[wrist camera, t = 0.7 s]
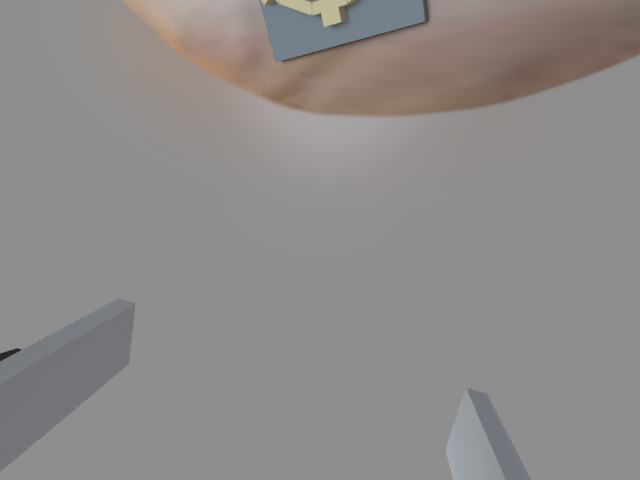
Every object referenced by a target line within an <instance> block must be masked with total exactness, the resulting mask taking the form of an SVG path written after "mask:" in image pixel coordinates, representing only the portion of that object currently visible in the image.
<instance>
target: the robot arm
mask: <svg viewBox="0 0 640 480" xmlns="http://www.w3.org/2000/svg"><path fill="white" fill-rule="evenodd" d="M134 313H135V303H133V302H129V301H125V300H121V299H116V300H114V301H112V302H110V303H108V304H107V305H105V306H103V307H101V308H99V309H98V310H95V311H94V312H92V313H90V314H88V315H86V316H84V317H83V318H80V319H79V320H77V321H75V322H73V323H71V324H70V325H67V326H66V327H64V328H62V329H60V330H58V331H56V332H54V333H53V334H51V335H49V336H47V337H45V338H43V339H42V340H39V341H38V342H36V343H34V344H32V345H30V346H28V347H26V348H25V349H23V350H21V349H18V348H17V349H14V350H10V351H7V352H4V353H1V354H0V472H1V471H2V470H3V469H4V468H6V467H7V466H8V465H9V464H10V463H12V461H14V460H15V459H16V458H18V457H19V456H20V455H21V454H22V453H23V452H25V451H26V450H27V449H28V448H29V447H31V446H32V445H33V444H34V443H35V442H37V441H38V440H39V439H40V438H41V437H43V436H44V435H45V434H46V433H47V432H49V431H50V430H51V429H52V428H53V427H55V426H56V425H57V424H58V423H59V422H61V421H62V420H63V419H64V418H65V417H66V416H68V415H69V414H70V413H71V412H73V411H74V410H75V409H76V408H77V407H78V406H80V405H81V404H82V403H83V402H84V401H86V400H87V399H88V398H89V397H90V396H92V395H93V394H94V393H95V392H96V391H98V390H99V389H100V388H101V387H102V386H103V385H105V384H106V383H107V382H108V381H109V380H111V379H112V378H113V377H114V376H115V375H117V374H118V373H119V372H120V371H122V370H123V369H124V368H125V367H126V366H127V365H129V359H130V349H131V341H132V331H133V322H134ZM446 454H447V457H448V461H449V465H450V469H451V472H452V476H453V480H531V479H530V477H529V475H528V473H527V471H526V469H525V467H524V465H523V463H522V461H521V459H520V457H519V455H518V453H517V451H516V449H515V447H514V445H513V444H512V441H511V440H510V438H509V436H508V434H507V432H506V430H505V428H504V426H503V424H502V422H501V420H500V418H499V416H498V414H497V412H496V410H495V408H494V406H493V404H492V403H491V400H490V398H489V396H488V395H487V393H483V392H479V391H476V390H472V389H468V388H466V390H465V393H464V396H463V399H462V402H461V405H460V408H459V411H458V414H457V418H456V420H455V423H454V426H453V429H452V432H451V435H450V438H449V441H448V444H447V448H446Z"/></svg>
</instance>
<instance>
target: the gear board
mask: <svg viewBox="0 0 640 480" xmlns="http://www.w3.org/2000/svg"><path fill="white" fill-rule="evenodd" d="M260 4H261V8H262V12H263V15H264V19H265V23H266V27H267V30H268V34H269V38H270V42H271V45H272V49H273V53H274V57H275V60H276V62H279V61H283V60H287V59H290V58H294V57H297V56H301V55H305V54H308V53H312V52H316V51H319V50H323V49H327V48H330V47H334V46H338V45H341V44H345V43H349V42H352V41H356V40H359V39H363V38H367V37H370V36H374V35H378V34H381V33H385V32H389V31H392V30H396V29H400V28H403V27H407V26H411V25H414V24H418V23H422V22H425V21H428V17H427V8H426V0H260Z"/></svg>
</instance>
